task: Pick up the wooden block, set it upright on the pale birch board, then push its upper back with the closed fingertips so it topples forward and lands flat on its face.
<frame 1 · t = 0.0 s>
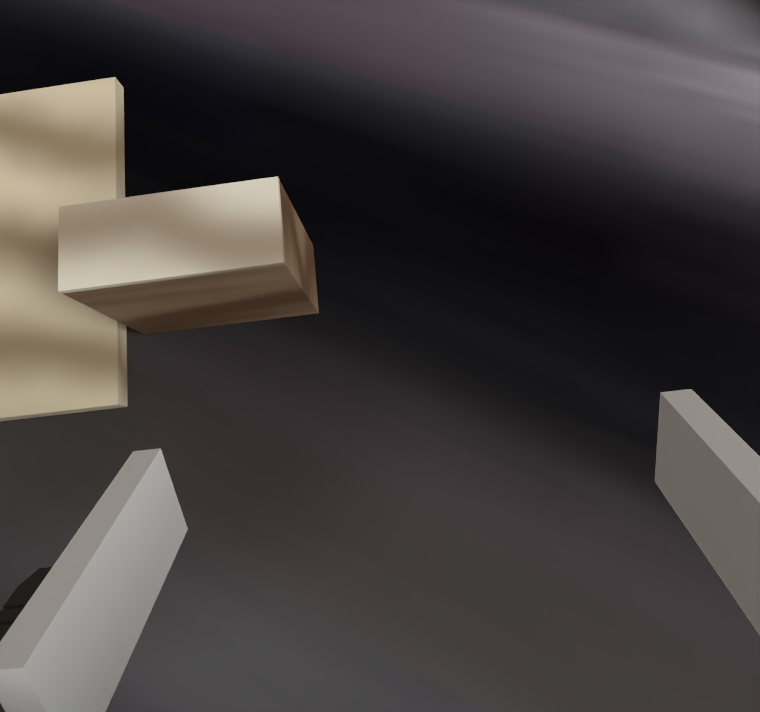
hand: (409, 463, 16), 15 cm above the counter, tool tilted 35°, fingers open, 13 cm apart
wooden block: (229, 290, 34), on the counter
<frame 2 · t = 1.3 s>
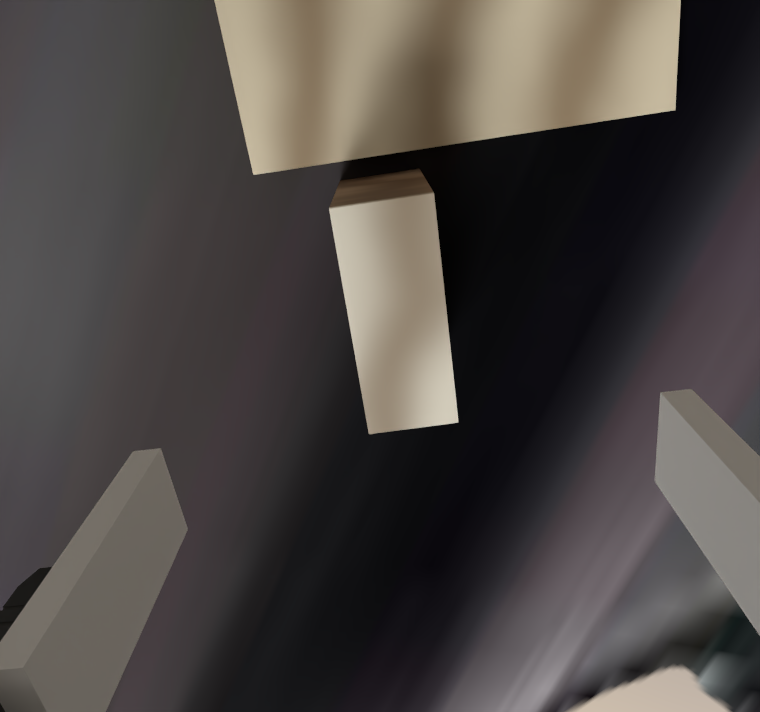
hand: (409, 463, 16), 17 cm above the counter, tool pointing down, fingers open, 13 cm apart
wooden block: (393, 270, 32), on the counter
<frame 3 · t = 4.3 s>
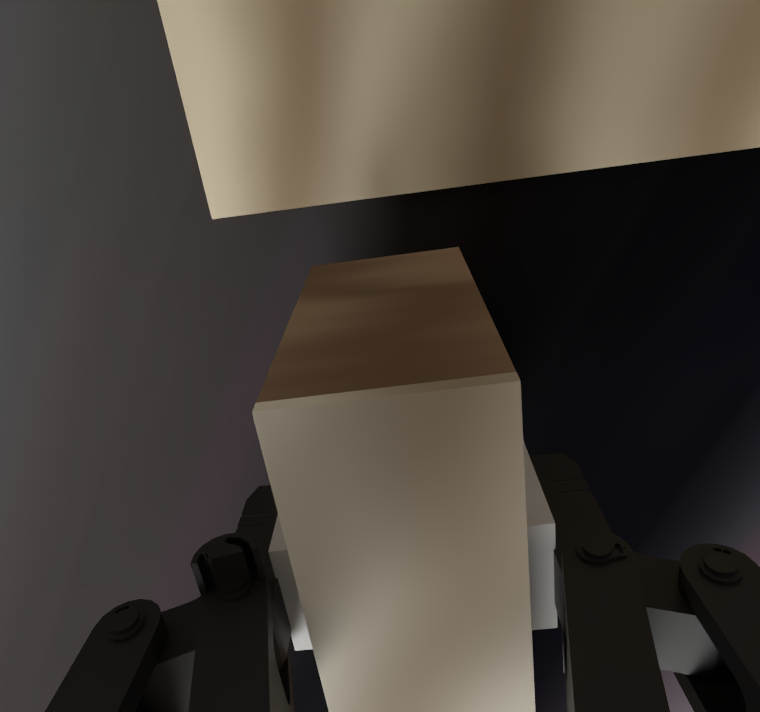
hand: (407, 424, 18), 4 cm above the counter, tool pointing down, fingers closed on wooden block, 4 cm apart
wooden block: (406, 416, 18), point 4 cm above the counter, touching gripper
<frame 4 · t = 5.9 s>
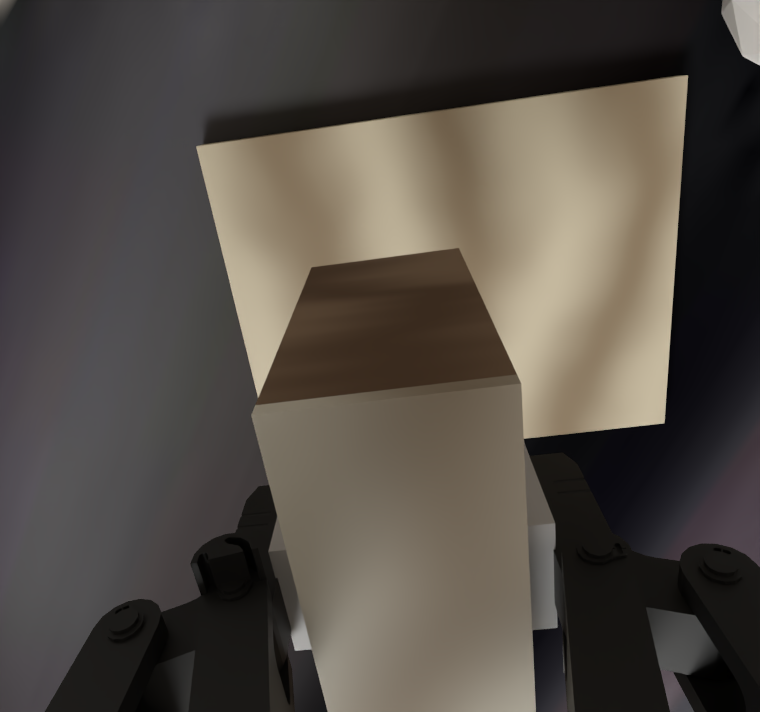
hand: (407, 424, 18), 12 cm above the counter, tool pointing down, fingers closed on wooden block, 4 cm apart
wooden block: (406, 417, 18), point 11 cm above the counter, touching gripper
board: (450, 291, 28), on the counter
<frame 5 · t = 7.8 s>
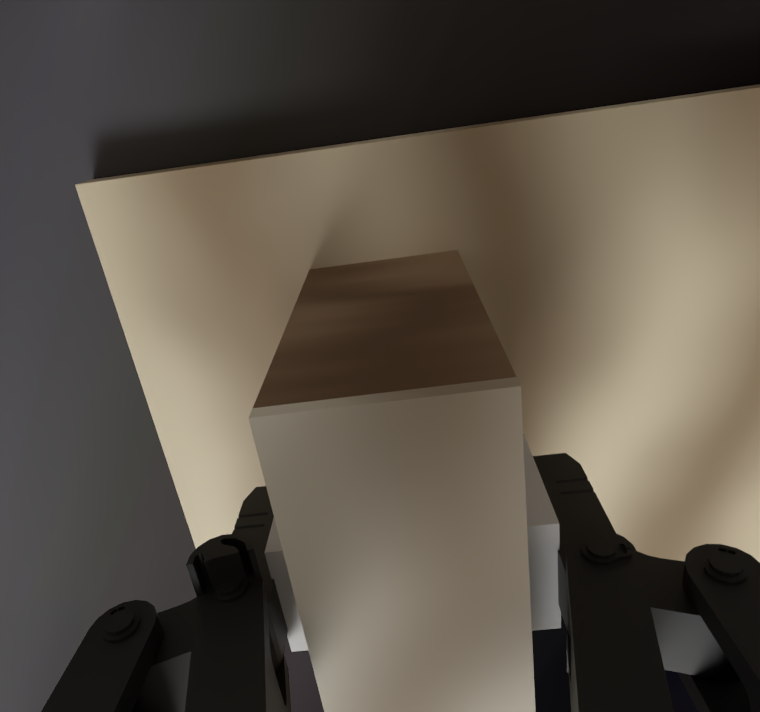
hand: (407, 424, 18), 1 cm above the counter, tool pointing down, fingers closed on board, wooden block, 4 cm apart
wooden block: (404, 420, 18), point 1 cm above the counter, touching board, gripper
board: (481, 396, 19), on the counter
when the fingers open (1 cm above the counter, at t = 8.0 s): wooden block stays where it is, resting on board.
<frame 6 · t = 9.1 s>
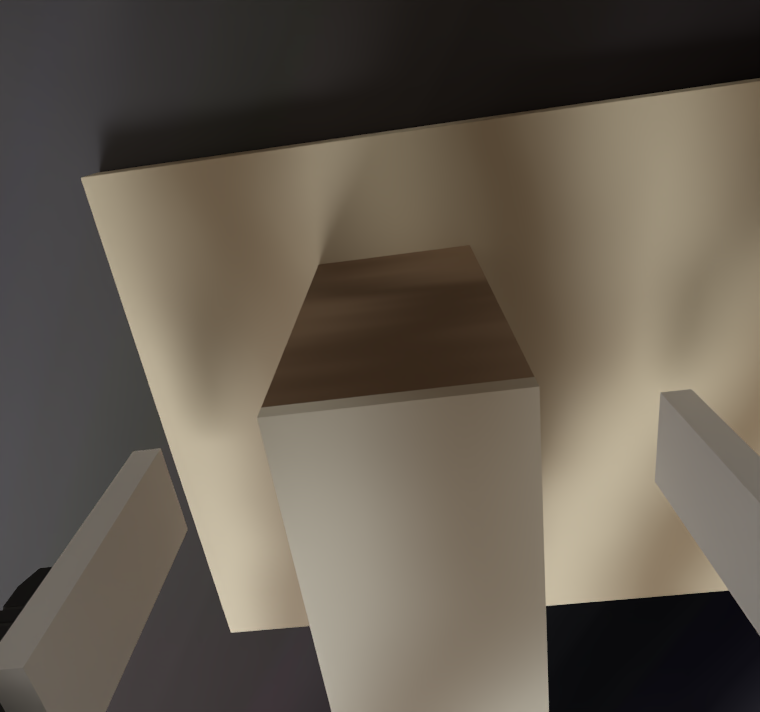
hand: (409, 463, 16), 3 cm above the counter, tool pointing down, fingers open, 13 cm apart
wooden block: (414, 418, 18), point 1 cm above the counter, touching board
board: (492, 394, 18), on the counter
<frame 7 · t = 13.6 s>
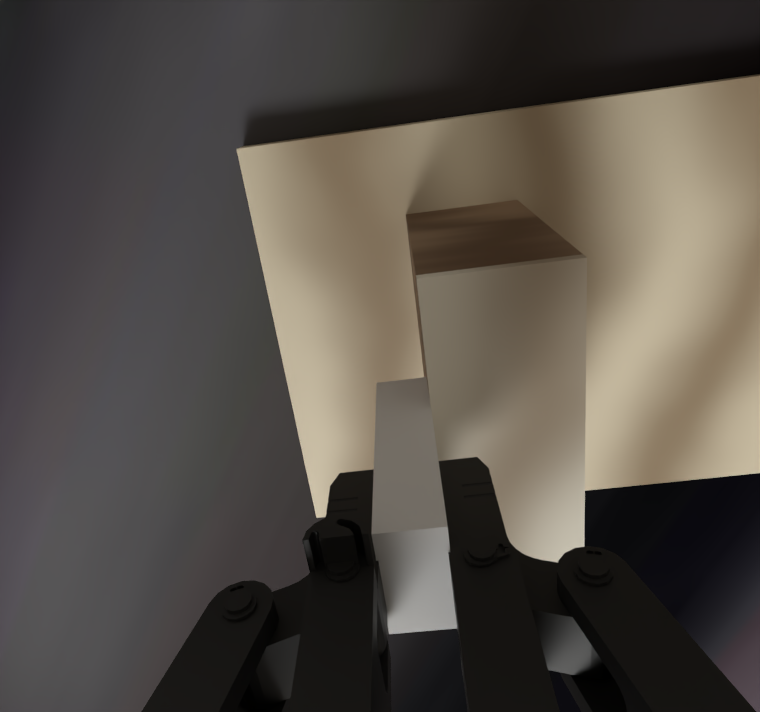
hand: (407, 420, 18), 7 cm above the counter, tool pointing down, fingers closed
wooden block: (470, 335, 23), point 1 cm above the counter, touching board, gripper
board: (528, 319, 24), on the counter
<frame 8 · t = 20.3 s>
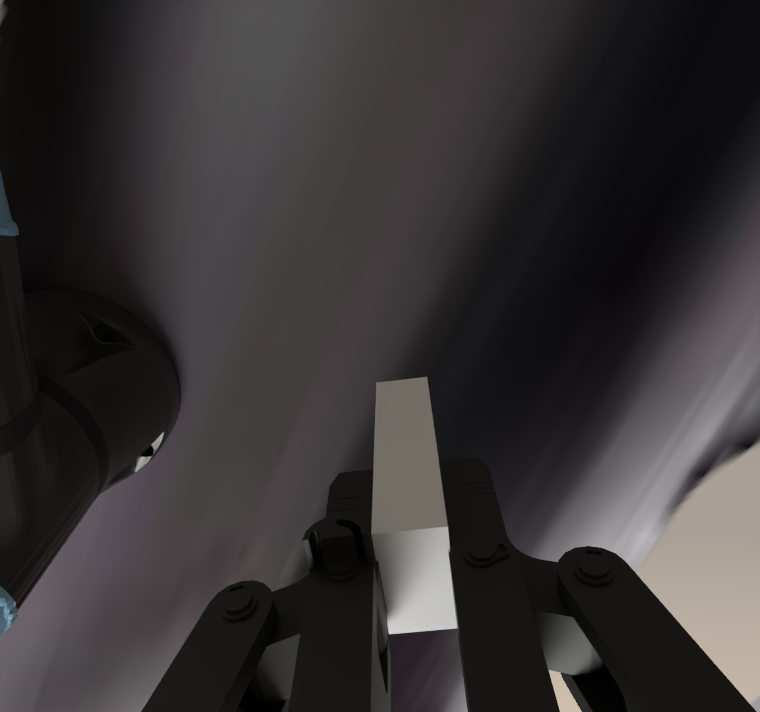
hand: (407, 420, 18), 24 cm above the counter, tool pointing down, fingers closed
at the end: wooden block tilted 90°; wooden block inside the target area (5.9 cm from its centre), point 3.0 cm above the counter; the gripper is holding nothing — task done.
